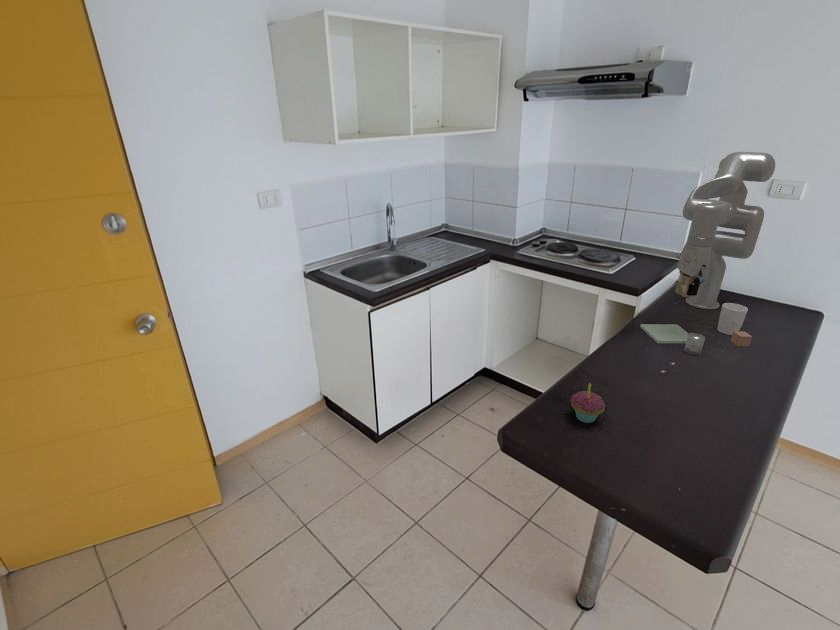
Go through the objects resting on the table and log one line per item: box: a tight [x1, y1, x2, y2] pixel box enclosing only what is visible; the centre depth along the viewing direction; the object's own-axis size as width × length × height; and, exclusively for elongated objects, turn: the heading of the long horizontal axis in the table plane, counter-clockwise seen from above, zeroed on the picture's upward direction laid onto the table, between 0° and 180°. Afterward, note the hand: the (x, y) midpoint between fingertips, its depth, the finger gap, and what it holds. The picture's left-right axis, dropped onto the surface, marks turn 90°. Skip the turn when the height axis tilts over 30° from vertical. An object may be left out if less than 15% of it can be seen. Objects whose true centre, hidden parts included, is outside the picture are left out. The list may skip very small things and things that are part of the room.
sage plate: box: [639, 323, 689, 345], centre depth 163 cm, size 14×14×1 cm
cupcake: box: [570, 382, 606, 424], centre depth 115 cm, size 9×8×12 cm
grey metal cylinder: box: [683, 332, 706, 356], centre depth 150 cm, size 5×5×6 cm
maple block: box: [675, 272, 701, 298], centre depth 153 cm, size 5×5×7 cm
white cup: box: [716, 302, 749, 336], centre depth 163 cm, size 8×8×10 cm
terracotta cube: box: [730, 330, 753, 348], centre depth 155 cm, size 4×4×4 cm
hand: (686, 291), depth 155 cm, fingers closed on maple block, 4 cm apart
